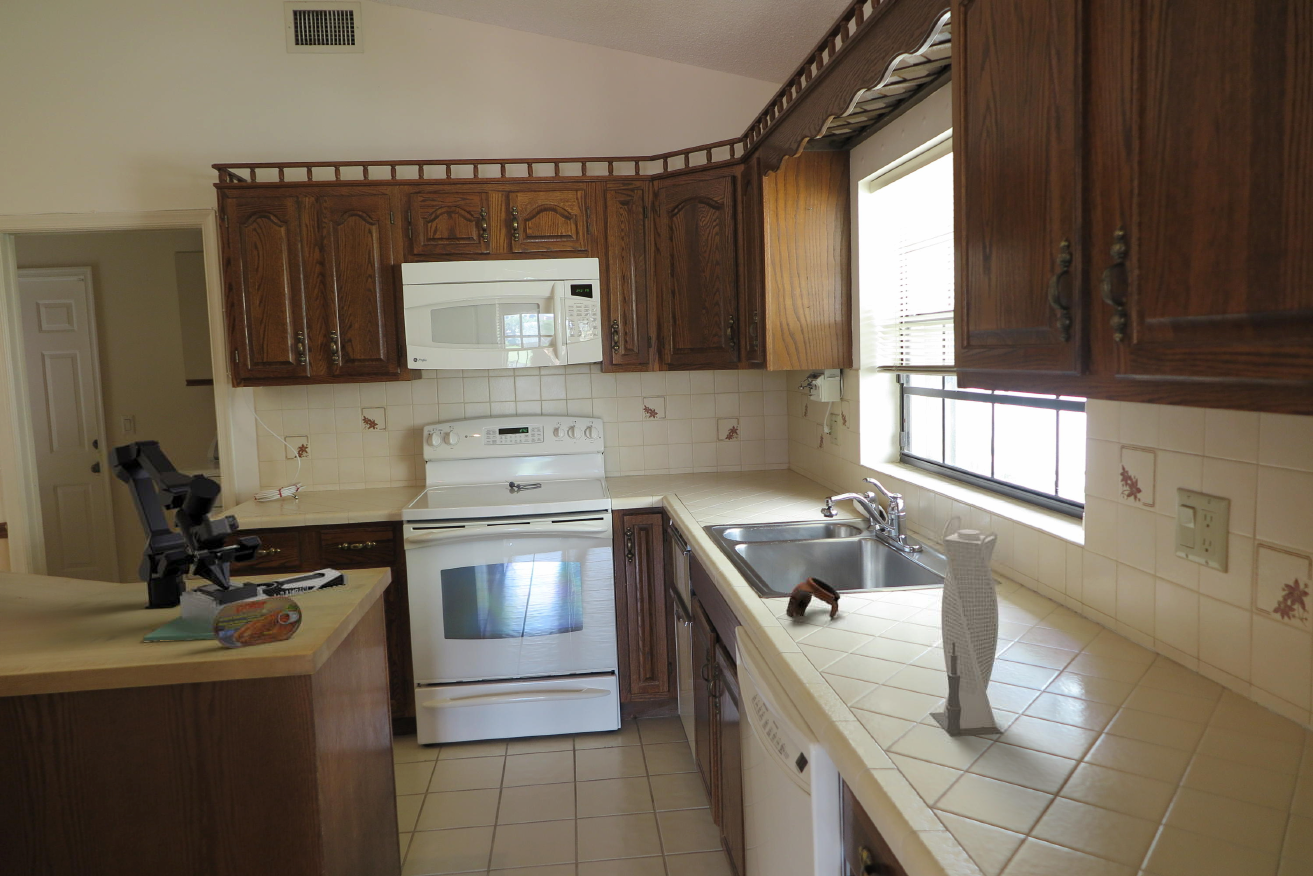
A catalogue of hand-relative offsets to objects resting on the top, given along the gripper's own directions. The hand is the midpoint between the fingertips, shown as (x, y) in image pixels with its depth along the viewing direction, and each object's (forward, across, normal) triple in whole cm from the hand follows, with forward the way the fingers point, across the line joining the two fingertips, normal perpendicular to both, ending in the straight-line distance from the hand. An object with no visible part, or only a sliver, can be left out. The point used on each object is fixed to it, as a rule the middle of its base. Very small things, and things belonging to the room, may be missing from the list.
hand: (227, 588), depth 165 cm
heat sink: (+4, 0, +7) cm, 8 cm away
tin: (+16, -2, -5) cm, 17 cm away
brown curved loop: (+74, +66, -62) cm, 116 cm away
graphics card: (-5, +20, +17) cm, 27 cm away
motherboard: (+3, 0, +8) cm, 8 cm away
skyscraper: (+101, +35, -89) cm, 139 cm away
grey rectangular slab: (-1, 0, +3) cm, 3 cm away
